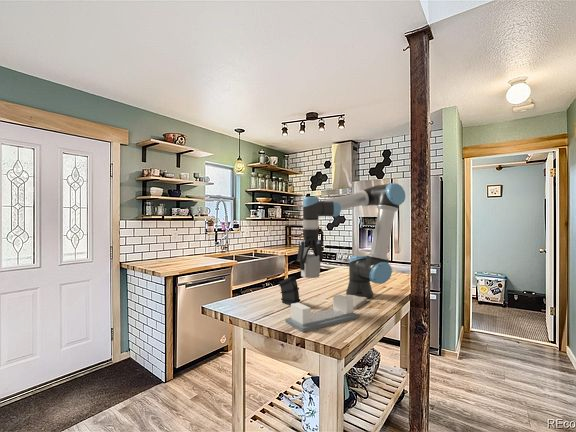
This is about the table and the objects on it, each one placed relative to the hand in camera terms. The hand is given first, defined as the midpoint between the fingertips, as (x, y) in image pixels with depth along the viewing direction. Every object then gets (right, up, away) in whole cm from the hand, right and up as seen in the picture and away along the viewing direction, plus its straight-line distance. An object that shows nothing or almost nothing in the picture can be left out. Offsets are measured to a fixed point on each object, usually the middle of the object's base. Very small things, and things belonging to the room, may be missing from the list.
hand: (310, 275), depth 145 cm
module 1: (-6, -15, -18) cm, 25 cm away
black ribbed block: (-10, -18, +12) cm, 23 cm away
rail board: (+5, -18, -12) cm, 22 cm away
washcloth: (+23, -18, +13) cm, 32 cm away
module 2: (+15, -15, -6) cm, 22 cm away
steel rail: (+5, -16, -12) cm, 21 cm away
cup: (0, -1, 0) cm, 1 cm away
